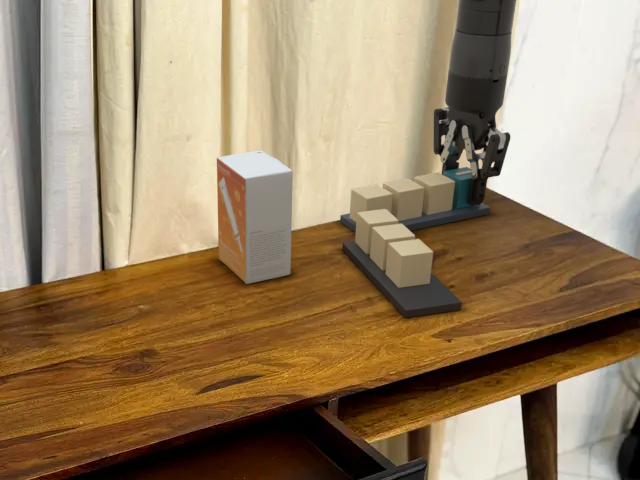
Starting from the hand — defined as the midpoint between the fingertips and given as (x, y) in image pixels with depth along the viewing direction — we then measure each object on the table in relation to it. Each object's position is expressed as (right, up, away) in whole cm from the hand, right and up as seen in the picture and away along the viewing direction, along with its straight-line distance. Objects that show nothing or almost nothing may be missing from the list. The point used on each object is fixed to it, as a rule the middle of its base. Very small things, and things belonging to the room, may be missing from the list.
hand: (461, 196), depth 137 cm
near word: (-11, -15, -17) cm, 25 cm away
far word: (-7, -4, -2) cm, 8 cm away
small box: (-29, -14, -14) cm, 35 cm away
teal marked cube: (0, -1, 0) cm, 1 cm away
